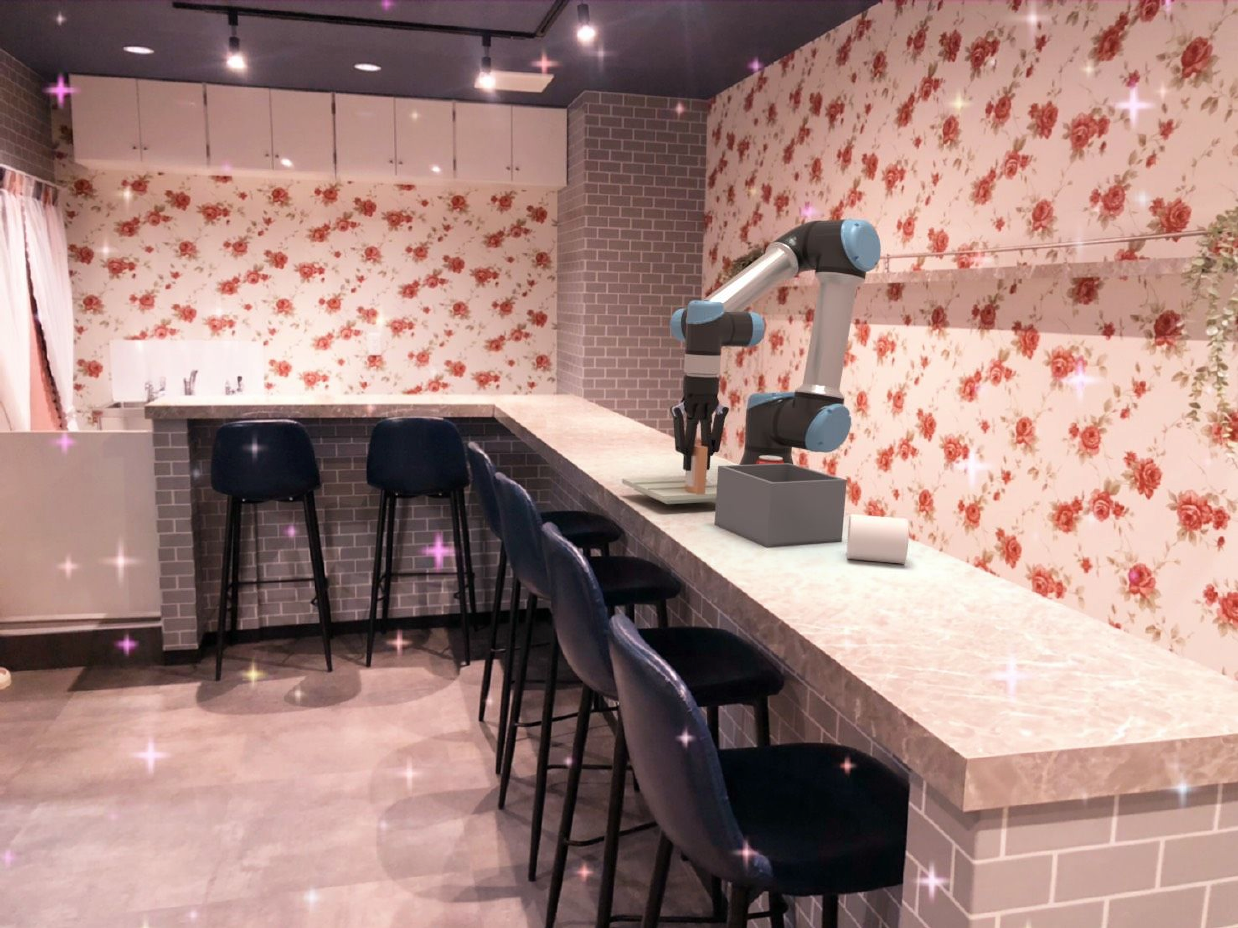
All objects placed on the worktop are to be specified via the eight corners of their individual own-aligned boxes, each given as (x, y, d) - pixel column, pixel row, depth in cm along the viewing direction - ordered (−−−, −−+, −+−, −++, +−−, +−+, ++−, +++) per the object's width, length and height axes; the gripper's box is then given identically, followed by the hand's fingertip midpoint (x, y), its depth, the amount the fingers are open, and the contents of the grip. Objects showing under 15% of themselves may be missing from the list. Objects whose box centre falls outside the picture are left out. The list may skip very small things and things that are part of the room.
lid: (691, 485, 231) (694, 433, 229) (736, 502, 213) (740, 446, 211) (621, 488, 223) (624, 434, 221) (662, 506, 205) (665, 448, 203)
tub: (785, 519, 206) (789, 463, 204) (841, 541, 189) (846, 479, 187) (714, 524, 199) (718, 465, 197) (766, 547, 182) (771, 483, 180)
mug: (905, 569, 171) (910, 524, 170) (847, 563, 173) (850, 519, 172) (900, 552, 183) (904, 510, 182) (845, 547, 185) (849, 505, 184)
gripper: (723, 373, 213) (717, 480, 217) (661, 373, 207) (655, 483, 211) (742, 376, 207) (735, 487, 210) (678, 376, 200) (672, 490, 204)
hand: (695, 485), depth 211 cm, fingers closed on lid, 2 cm apart
